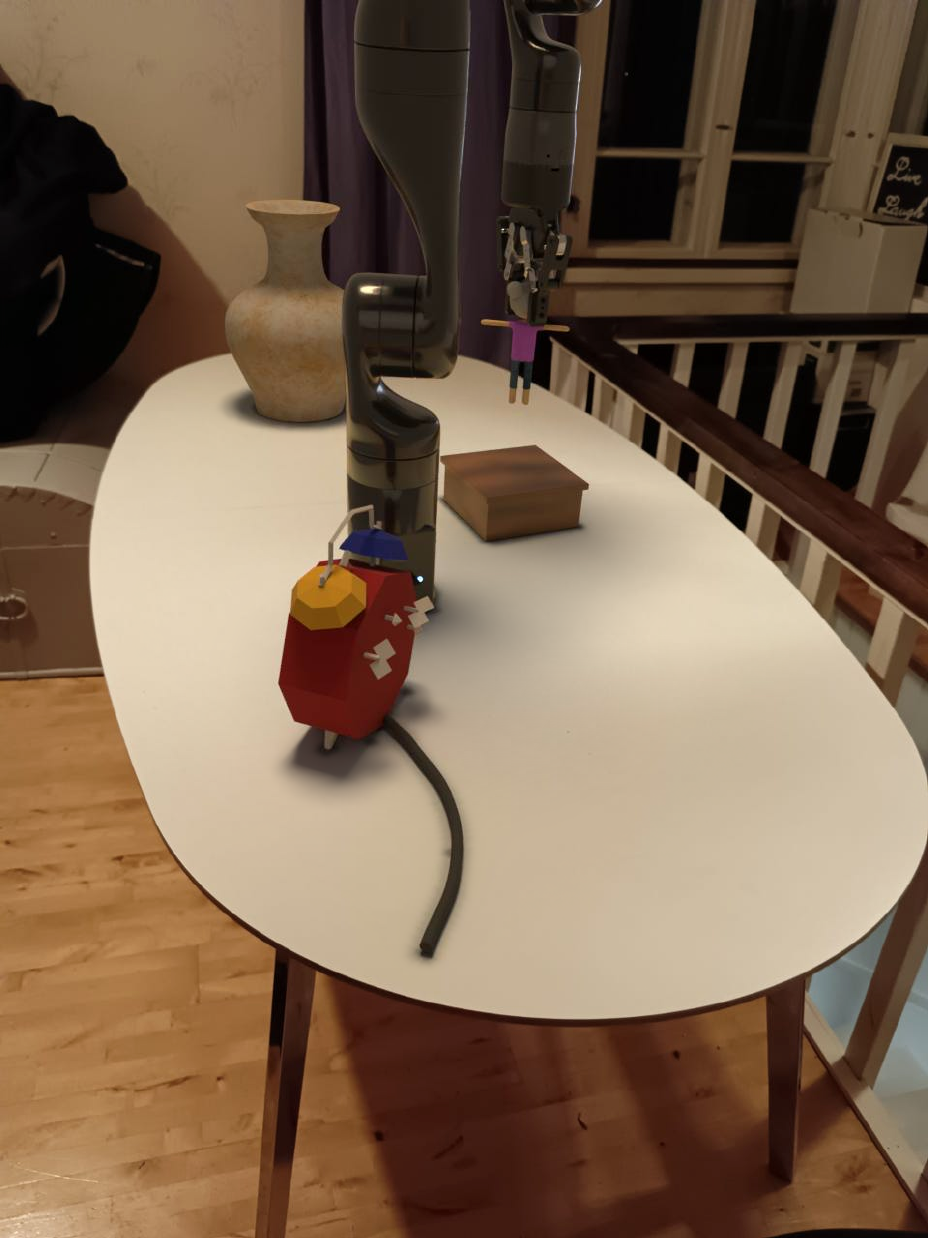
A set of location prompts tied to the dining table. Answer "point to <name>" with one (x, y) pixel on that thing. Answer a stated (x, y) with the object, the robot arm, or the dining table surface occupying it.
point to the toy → (521, 337)
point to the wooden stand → (512, 491)
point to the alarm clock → (351, 635)
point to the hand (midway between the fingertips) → (525, 318)
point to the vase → (291, 318)
